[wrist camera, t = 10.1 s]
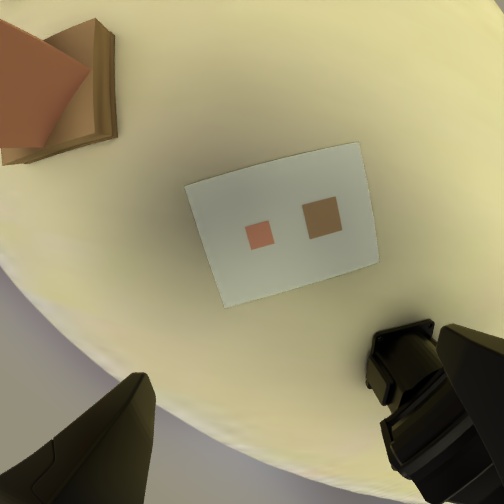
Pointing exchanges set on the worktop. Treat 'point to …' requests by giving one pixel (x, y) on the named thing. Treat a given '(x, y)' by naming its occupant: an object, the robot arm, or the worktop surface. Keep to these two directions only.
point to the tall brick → (33, 87)
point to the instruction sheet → (286, 223)
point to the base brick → (80, 96)
